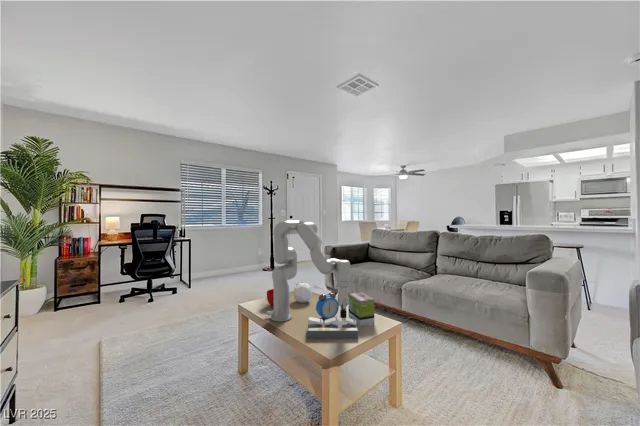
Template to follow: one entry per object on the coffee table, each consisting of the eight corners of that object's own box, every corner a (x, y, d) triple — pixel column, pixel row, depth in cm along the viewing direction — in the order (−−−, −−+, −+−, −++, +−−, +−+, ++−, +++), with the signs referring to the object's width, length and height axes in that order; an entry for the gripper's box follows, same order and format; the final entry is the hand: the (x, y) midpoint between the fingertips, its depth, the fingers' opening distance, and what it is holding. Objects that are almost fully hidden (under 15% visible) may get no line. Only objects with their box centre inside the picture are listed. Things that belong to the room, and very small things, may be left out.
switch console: (307, 338, 141) (307, 328, 141) (308, 328, 154) (308, 319, 154) (358, 338, 141) (358, 329, 141) (355, 328, 154) (355, 319, 154)
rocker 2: (325, 325, 147) (324, 322, 147) (325, 322, 151) (324, 319, 151) (338, 321, 147) (338, 319, 147) (338, 318, 152) (337, 316, 152)
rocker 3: (342, 321, 147) (343, 319, 147) (341, 318, 152) (342, 316, 152) (355, 325, 147) (356, 322, 147) (354, 322, 152) (355, 319, 152)
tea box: (347, 317, 171) (347, 293, 171) (362, 315, 174) (362, 291, 174) (359, 326, 157) (359, 300, 157) (375, 324, 160) (375, 298, 160)
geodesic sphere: (292, 298, 189) (304, 280, 193) (284, 293, 201) (295, 276, 205) (308, 308, 194) (319, 291, 199) (299, 303, 207) (310, 286, 211)
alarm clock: (320, 321, 163) (320, 296, 163) (315, 318, 169) (315, 293, 169) (339, 317, 170) (339, 293, 170) (333, 314, 175) (333, 290, 175)
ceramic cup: (277, 300, 204) (277, 286, 204) (288, 306, 190) (288, 291, 190) (260, 303, 196) (260, 289, 196) (271, 310, 183) (271, 295, 183)
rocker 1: (308, 322, 147) (308, 319, 147) (308, 319, 151) (309, 316, 151) (322, 324, 147) (322, 322, 147) (322, 321, 151) (322, 319, 151)
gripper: (335, 280, 157) (335, 312, 157) (337, 287, 142) (337, 322, 142) (348, 279, 157) (348, 312, 157) (351, 286, 142) (351, 322, 142)
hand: (343, 317), depth 149 cm, fingers closed
